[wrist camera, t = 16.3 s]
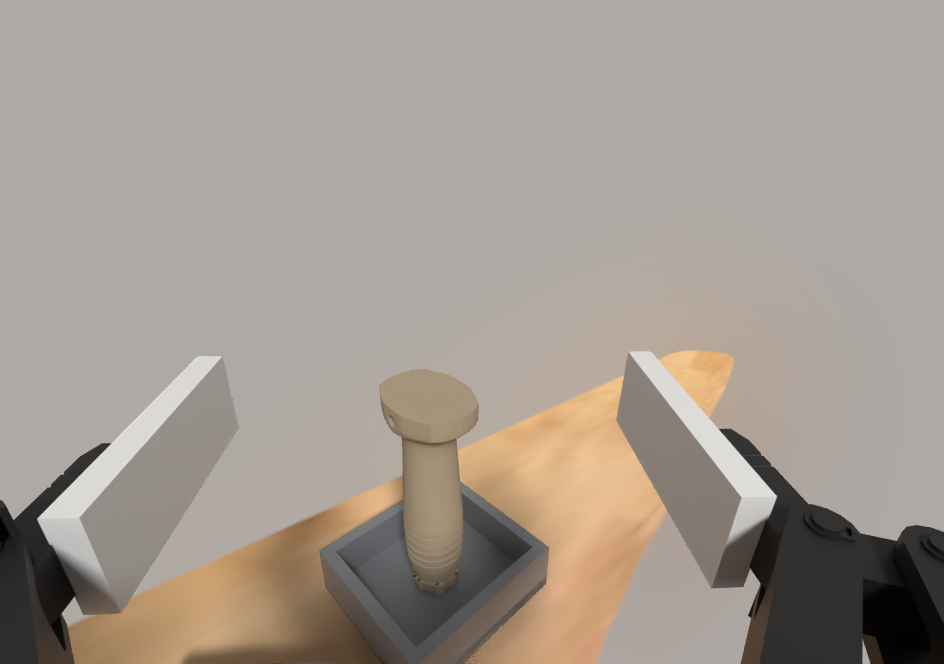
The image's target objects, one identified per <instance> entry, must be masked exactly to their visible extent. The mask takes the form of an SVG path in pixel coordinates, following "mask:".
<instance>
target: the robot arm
mask: <svg viewBox="0 0 944 664" xmlns="http://www.w3.org/2000/svg"><path fill="white" fill-rule="evenodd" d="M616 421H617V422H618V424H619V426H620V428H621V430H622V431H623V433H624V435H625V437H626V438H627V440H628V442H629V444H630V445H631V447H632V449H633V451H634V452H635V454H636V456H637V458H638V460H639V461H640V463H641V465H642V467H643V468H644V470H645V472H646V474H647V475H648V477H649V479H650V481H651V482H652V484H653V486H654V488H655V490H656V491H657V493H658V495H659V497H660V498H661V500H662V502H663V504H664V505H665V507H666V509H667V511H668V512H669V514H670V516H671V518H672V520H673V521H674V523H675V525H676V527H677V528H678V530H679V532H680V534H681V535H682V537H683V539H684V541H685V542H686V544H687V546H688V548H689V550H690V551H691V553H692V555H693V557H694V558H695V560H696V562H697V564H698V565H699V567H700V569H701V571H702V573H703V574H704V576H705V578H706V579H707V581H708V583H709V585H710V587H711V588H731V587H743V586H744V583H745V581H746V578H747V576H748V573H749V570H750V568H751V570H752V571H753V573H754V574H755V576H756V577H757V579H758V580H759V582H760V583H761V584H760V587H759V589H758V592H757V594H756V597H755V600H754V602H753V605H752V607H751V610H750V612H749V615H748V616H749V617H751V621H750V626H749V630H748V635H747V639H746V643H745V647H744V652H743V656H742V661H741V664H862V638H863V641H864V645H865V647H866V651H867V654H868V657H869V660H870V663H871V664H944V532H942V531H939V530H936V529H934V528H931V527H924V526H918V525H915V526H909V527H906V528H905V529H904V530H903V531H902V533H901V535H900V537H899V538H898V540H897V541H894V540H889V539H885V538H879V537H875V536H870V535H865V534H861V533H859V531H857V529H856V528H855V527H854V526H853V524H852V523H850V522H849V521H847V520H846V519H845V518H843V517H842V516H841V515H839V514H837V513H835V512H833V511H831V510H829V509H827V508H823V507H819V506H816V505H813V504H812V505H811V504H808V503H807V502H806V501H805V500H804V499H803V498H802V497H801V496H800V495H799V494H798V492H797V491H796V490H795V489H794V488H793V487H792V486H791V485H790V484H789V483H788V482H787V481H786V480H785V479H784V477H783V476H782V475H780V473H779V472H778V471H777V470H776V469H775V468H774V467H771V464H770V462H769V461H768V460H767V459H766V458H765V457H764V456H761V453H760V452H759V451H758V450H757V449H756V447H755V446H754V445H753V444H752V443H751V442H750V441H749V440H748V439H746V438H744V437H743V436H741V435H739V434H738V433H737V432H735V431H733V430H732V429H718V428H717V427H716V426H715V425H714V424H713V422H712V421H711V420H710V419H709V418H708V417H707V416H706V414H705V413H704V412H703V411H702V410H701V409H700V407H699V406H698V405H697V404H696V403H695V402H694V401H693V399H692V398H691V397H690V396H689V395H688V394H687V393H686V391H685V390H684V389H683V388H682V387H681V386H680V385H679V383H678V382H677V381H676V380H675V379H674V378H673V376H672V375H671V374H670V373H669V372H668V371H667V370H666V368H665V367H664V366H663V365H662V364H661V363H660V362H659V360H658V359H657V358H656V357H655V356H654V355H653V353H651V352H628V357H627V362H626V369H625V374H624V380H623V385H622V391H621V397H620V403H619V408H618V414H617V420H616ZM238 428H239V427H238V423H237V418H236V413H235V409H234V405H233V401H232V396H231V391H230V387H229V382H228V378H227V373H226V369H225V365H224V360H223V356H199V357H197V358H196V359H195V360H194V361H193V362H192V363H191V364H190V365H189V366H188V367H187V368H186V369H185V370H184V371H183V372H182V373H181V374H180V375H179V376H178V377H177V378H176V379H175V380H174V381H173V382H172V383H171V384H170V385H169V386H168V387H167V388H166V389H165V390H164V391H163V392H162V393H161V394H160V395H159V396H158V397H157V398H156V399H155V400H154V401H153V402H152V403H151V404H150V405H149V406H148V407H147V408H146V409H145V411H143V412H142V413H141V414H140V415H139V416H138V417H137V418H136V419H135V420H134V421H133V422H132V423H131V424H130V425H129V426H128V427H127V428H126V429H125V430H124V431H123V432H122V433H121V434H120V435H119V436H118V438H117V439H116V440H115V441H114V442H113V443H102V444H100V445H99V446H97V447H95V448H94V449H92V450H90V451H89V452H87V453H85V454H84V455H82V456H80V457H79V458H78V459H77V460H76V461H75V462H74V463H73V464H72V465H71V466H70V467H69V468H68V469H67V470H66V471H65V472H64V475H60V476H59V477H58V478H57V479H56V480H55V481H54V482H53V483H52V484H51V487H50V488H47V489H46V490H45V491H44V492H43V493H42V494H41V495H39V496H38V497H37V498H36V499H35V500H34V501H33V502H32V503H31V504H30V505H29V506H28V507H27V508H26V509H25V510H24V511H23V512H22V513H21V514H20V515H19V516H18V517H17V518H16V519H14V520H13V519H12V517H11V515H10V513H9V511H8V509H7V507H6V505H5V504H4V503H3V501H1V500H0V664H74V659H73V654H72V649H71V644H70V638H69V633H68V628H67V624H66V622H65V620H64V618H63V616H62V614H61V613H62V612H63V611H64V609H65V608H66V606H68V604H69V603H70V602H71V600H72V599H73V598H74V596H75V598H76V600H77V602H78V604H79V606H80V609H81V611H82V613H83V614H84V615H93V614H117V613H121V612H122V611H123V609H124V608H125V606H126V605H127V603H128V601H129V600H130V598H131V597H132V595H133V593H134V592H135V590H136V589H137V587H138V585H139V584H140V583H141V581H142V579H143V578H144V576H145V575H146V573H147V572H148V570H149V568H150V567H151V565H152V564H153V562H154V561H155V559H156V557H157V556H158V554H159V552H160V551H161V549H162V548H163V546H164V545H165V543H166V542H167V540H168V538H169V537H170V535H171V534H172V532H173V531H174V529H175V527H176V526H177V524H178V522H179V521H180V520H181V518H182V516H183V515H184V513H185V512H186V510H187V509H188V507H189V505H190V504H191V502H192V501H193V499H194V498H195V496H196V494H197V493H198V491H199V489H200V488H201V487H202V485H203V483H204V482H205V480H206V479H207V477H208V476H209V474H210V472H211V471H212V469H213V468H214V466H215V464H216V463H217V461H218V460H219V458H220V457H221V455H222V454H223V452H224V450H225V449H226V447H227V446H228V444H229V442H230V441H231V439H232V438H233V436H234V435H235V433H236V432H237V430H238Z"/></svg>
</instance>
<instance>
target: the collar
mask: <svg viewBox="0 0 944 664" xmlns="http://www.w3.org/2000/svg"><path fill="white" fill-rule="evenodd" d="M275 664H339V660H324V661H308V662H292V663H275Z"/></svg>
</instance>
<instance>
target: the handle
mask: <svg viewBox="0 0 944 664" xmlns="http://www.w3.org/2000/svg"><path fill="white" fill-rule="evenodd" d="M379 387H380V398H381V405H382V411H383V415H384V418H385V420H386V422H387V424H388V425H389V427H390V429H391V430H392V431H393V432H394V433H395V434H397V435H399V436H401V437H402V446H403V522H404V533H405V540H406V546H407V551H408V556H409V560H410V563H411V567H412V569H413V571H414V574H413V578H414V582H415V585H416V587H417V588H418V589H419V590H420V591H428V592H431V593H433V594H435V595H436V596H439V595H443V593H444V592H445V591H446V590H447V589H448V588H450V587H454V586H455V585H456V584H457V581H458V577H459V570H458V565H459V562H460V557H461V551H462V541H463V508H462V498H461V488H460V477H459V466H458V454H457V443H456V439H457V438H459V437H461V436H463V435H464V434H466V433H468V432H469V431H470V430H471V429H473V428H474V426H475V425H476V423H477V421H478V402H477V400H476V397H475V396H474V394H473V392H472V390H471V389H470V388H469V387H468V386H467V385H465V384H464V383H462V382H460V381H459V380H457V379H455V378H454V377H451V376H449V375H446V374H443V373H439V372H434V371H430V370H425V369H421V370H411V371H407V372H403V373H400V374H397V375H395V376H392V377H390V378H388V379H386V380H385V381H384V382H383V383H382V384H381V385H380V386H379Z"/></svg>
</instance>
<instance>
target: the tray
mask: <svg viewBox="0 0 944 664" xmlns="http://www.w3.org/2000/svg"><path fill="white" fill-rule="evenodd" d="M460 488H461V498H462V508H463V541H462V551H461V557H460V562H459V565H458V570H459V577H458V581H457V584H456V585H455V586H454V587H450V588H448V589H447V590H446V591H445V592H444V593H443V595H439V596H436V595H435V594H433V593H431V592H428V591H420V590H419V589H418V588H417V587H416V585H415V582H414V578H413V574H414V571H413V569H412V567H411V563H410V560H409V556H408V551H407V546H406V540H405V533H404V522H403V500H402V501H400V502H399V503H397V504H396V505H394V506H392V507H391V508H389V509H387V510H386V511H384V512H382V513H381V514H379V515H377V516H376V517H374V518H373V519H371V520H369V521H368V522H366V523H364V524H363V525H361V526H359V527H358V528H356V529H354V530H353V531H351V532H350V533H348V534H346V535H345V536H343V537H341V538H340V539H338V540H336V541H335V542H333V543H331V544H330V545H328V546H327V547H325V548H323V549H322V550H320V551H319V552H320V557H321V563H322V569H323V574H324V580H325V586H326V588H327V589H328V591H329V592H330V593H331V595H332V596H333V597H334V599H335V600H336V601H337V603H338V604H339V605H340V607H341V608H342V609H343V611H344V612H345V613H346V615H347V616H348V617H349V619H350V620H351V621H352V623H353V624H354V625H355V627H356V628H357V629H358V631H359V632H360V633H361V635H362V636H363V637H364V639H365V640H366V641H367V643H368V644H369V645H370V647H371V648H372V649H373V651H374V652H375V653H376V655H377V656H378V657H379V659H380V660H381V661H382V663H383V664H463V663H464V662H465V661H466V660H467V659H468V658H469V657H470V656H471V655H472V654H473V653H474V652H475V651H476V650H477V649H478V648H479V647H480V646H481V645H482V644H483V643H484V642H486V641H487V640H488V639H489V638H490V637H491V636H492V635H493V634H494V633H495V632H496V631H497V630H498V629H499V628H500V627H501V626H502V625H503V624H504V623H505V622H506V621H507V620H508V619H509V618H510V617H511V616H513V615H514V614H515V613H516V612H517V611H518V610H519V609H520V608H521V607H522V606H523V605H524V604H525V603H526V602H527V601H528V600H529V599H530V598H531V597H532V596H533V595H534V594H535V593H536V592H537V591H538V590H539V589H541V588H542V587H543V586H544V585H545V584H546V577H547V565H548V553H549V547H548V546H546V545H545V544H544V543H542V542H541V541H540V540H538V539H537V538H536V537H534V536H533V535H532V534H530V533H529V532H528V531H526V530H525V529H524V528H522V527H521V526H520V525H518V524H517V523H515V522H514V521H513V520H511V519H510V518H509V517H507V516H506V515H505V514H503V513H502V512H501V511H499V510H498V509H497V508H495V507H494V506H493V505H491V504H490V503H489V502H487V501H486V500H485V499H483V498H482V497H480V496H479V495H478V494H476V493H475V492H474V491H472V490H471V489H470V488H468V487H467V486H466V485H464V484H463V483H462V482H460Z"/></svg>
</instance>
